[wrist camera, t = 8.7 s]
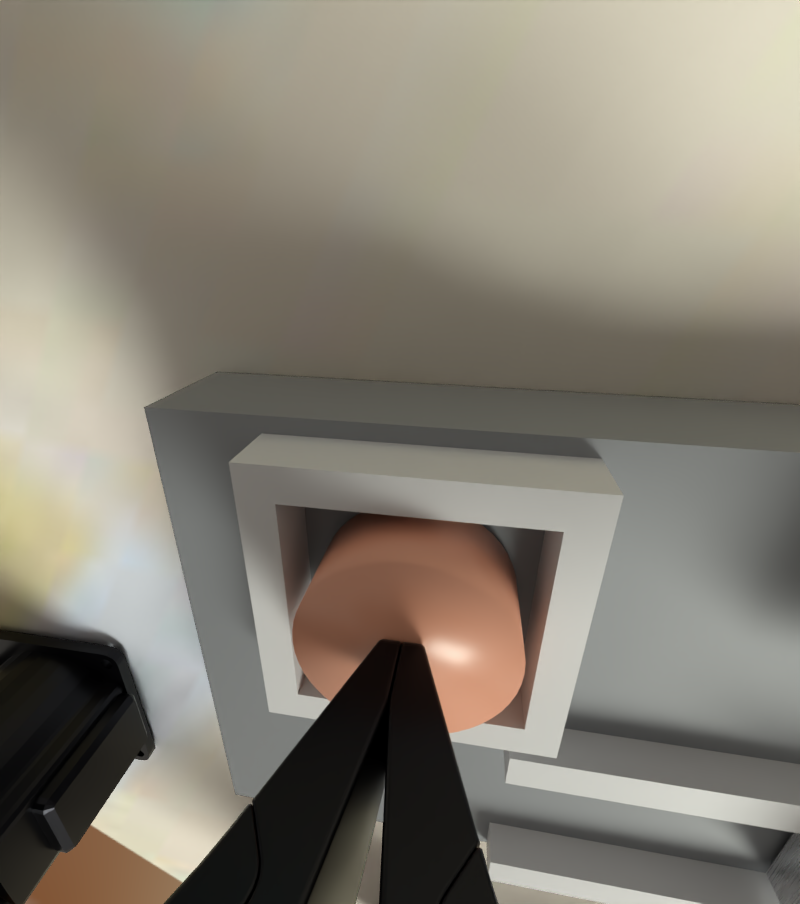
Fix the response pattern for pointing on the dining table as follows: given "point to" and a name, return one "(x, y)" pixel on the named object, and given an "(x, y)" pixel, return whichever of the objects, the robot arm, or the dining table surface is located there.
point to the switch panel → (530, 606)
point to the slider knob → (787, 872)
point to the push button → (417, 610)
